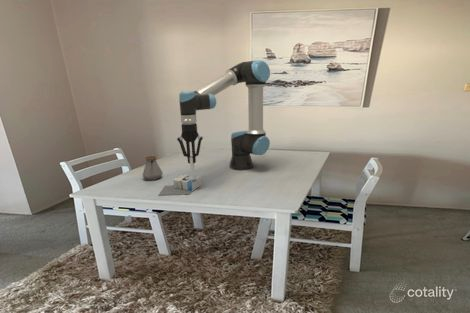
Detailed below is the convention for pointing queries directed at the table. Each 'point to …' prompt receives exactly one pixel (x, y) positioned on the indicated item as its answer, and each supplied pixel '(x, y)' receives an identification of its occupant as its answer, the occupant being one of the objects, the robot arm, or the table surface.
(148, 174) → the coffee pot
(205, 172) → the table surface
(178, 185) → the ink box
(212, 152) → the table surface
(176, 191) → the mat
